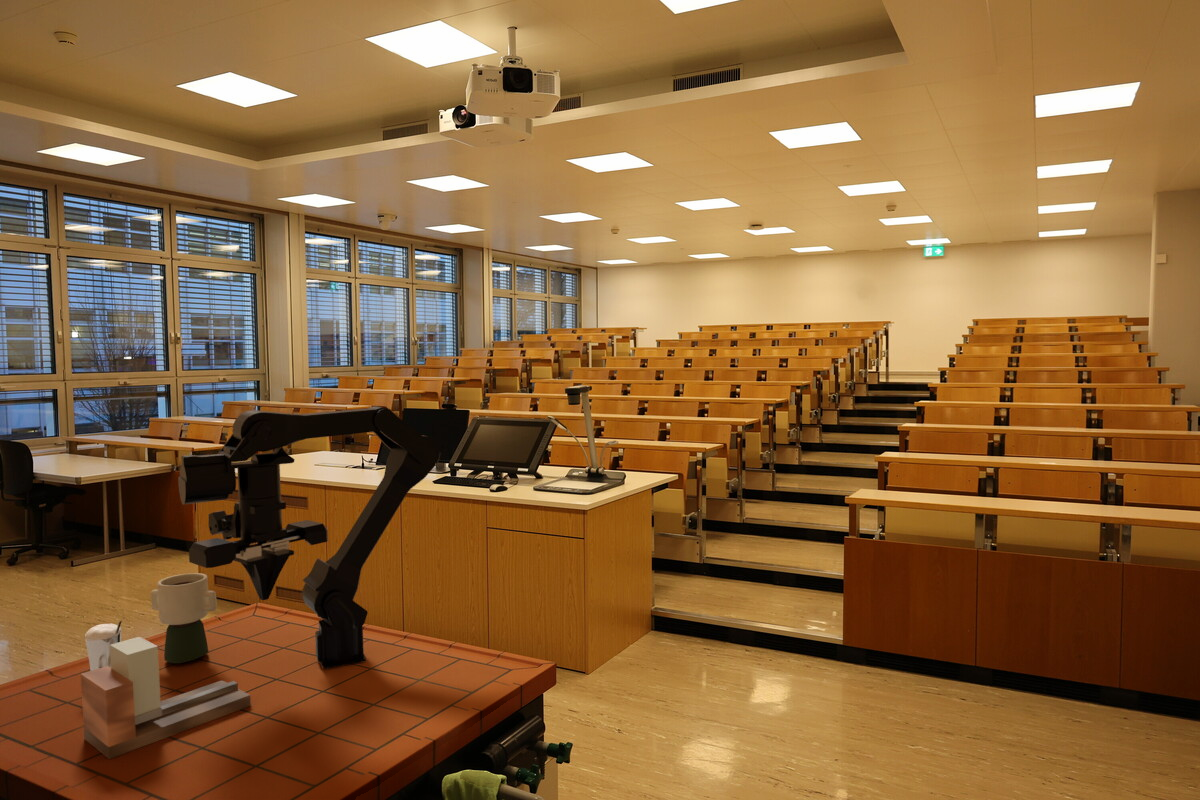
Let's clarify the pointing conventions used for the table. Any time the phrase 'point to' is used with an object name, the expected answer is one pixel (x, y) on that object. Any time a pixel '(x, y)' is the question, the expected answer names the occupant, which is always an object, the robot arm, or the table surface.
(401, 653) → the table surface
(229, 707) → the track
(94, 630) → the milkshake
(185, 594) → the character mug
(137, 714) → the block
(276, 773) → the table surface
